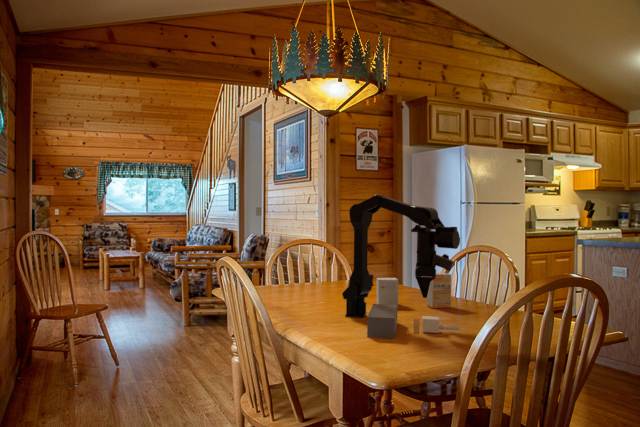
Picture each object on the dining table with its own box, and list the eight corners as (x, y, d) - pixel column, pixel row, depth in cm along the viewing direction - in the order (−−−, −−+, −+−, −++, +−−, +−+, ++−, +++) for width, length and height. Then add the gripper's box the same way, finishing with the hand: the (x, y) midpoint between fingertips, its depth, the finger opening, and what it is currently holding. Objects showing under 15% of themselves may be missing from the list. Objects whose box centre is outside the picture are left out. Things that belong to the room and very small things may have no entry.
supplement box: (432, 308, 183) (432, 274, 183) (426, 306, 188) (426, 273, 188) (451, 307, 185) (451, 274, 185) (445, 305, 190) (445, 272, 190)
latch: (413, 333, 136) (413, 324, 136) (413, 326, 144) (413, 318, 144) (419, 334, 136) (419, 324, 136) (419, 327, 144) (419, 318, 144)
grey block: (367, 337, 142) (367, 316, 142) (373, 321, 162) (373, 303, 162) (395, 338, 140) (395, 318, 140) (397, 322, 160) (397, 304, 160)
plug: (422, 331, 147) (422, 318, 147) (422, 328, 151) (422, 316, 151) (459, 333, 145) (459, 320, 145) (458, 330, 148) (458, 317, 148)
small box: (395, 303, 193) (396, 277, 193) (398, 306, 188) (398, 279, 188) (376, 303, 193) (376, 277, 193) (378, 306, 188) (378, 279, 187)
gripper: (453, 250, 143) (452, 302, 143) (450, 245, 161) (449, 291, 161) (415, 248, 145) (414, 300, 145) (416, 244, 163) (415, 289, 164)
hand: (424, 295), depth 154 cm, fingers open, 9 cm apart
